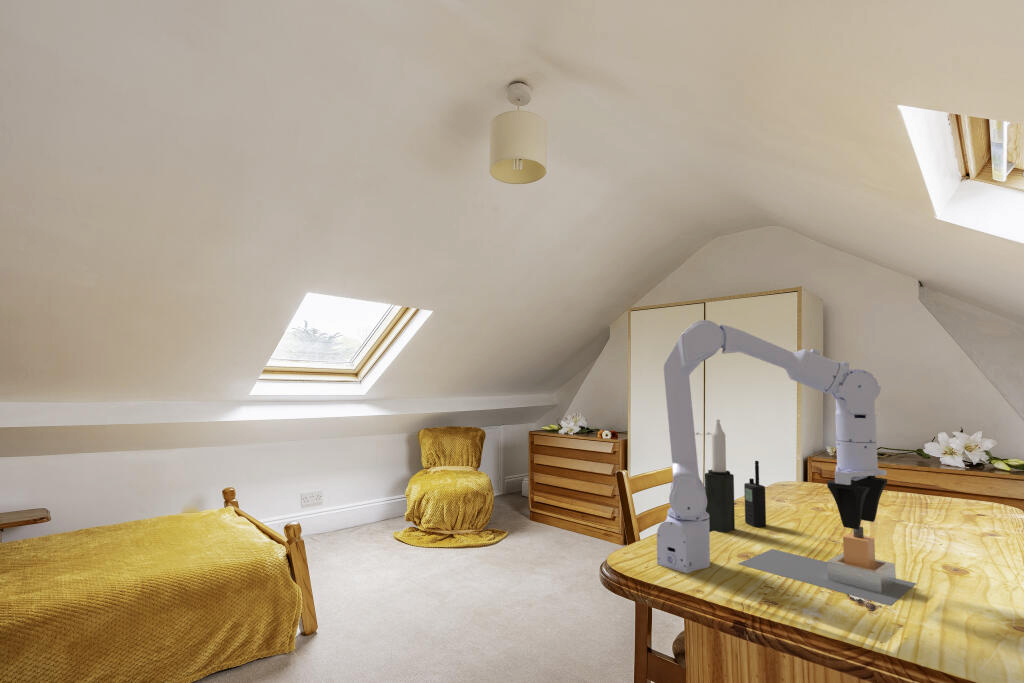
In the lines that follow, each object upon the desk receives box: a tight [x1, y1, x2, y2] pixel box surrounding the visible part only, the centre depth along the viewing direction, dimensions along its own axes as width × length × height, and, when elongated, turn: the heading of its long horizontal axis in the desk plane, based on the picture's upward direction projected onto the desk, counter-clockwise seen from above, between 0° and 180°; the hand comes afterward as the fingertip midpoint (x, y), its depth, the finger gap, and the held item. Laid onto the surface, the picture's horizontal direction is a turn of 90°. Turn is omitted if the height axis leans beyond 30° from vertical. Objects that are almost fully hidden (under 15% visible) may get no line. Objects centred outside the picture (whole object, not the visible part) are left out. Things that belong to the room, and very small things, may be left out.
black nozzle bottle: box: [704, 418, 736, 534], centre depth 119 cm, size 5×5×25 cm
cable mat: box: [737, 548, 917, 607], centre depth 91 cm, size 14×23×1 cm, turn 40°
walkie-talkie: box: [743, 460, 767, 528], centre depth 126 cm, size 5×3×15 cm
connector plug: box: [842, 526, 876, 570], centre depth 88 cm, size 4×4×9 cm
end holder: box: [826, 551, 897, 594], centre depth 87 cm, size 8×8×3 cm
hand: (859, 524), depth 88 cm, fingers open, 7 cm apart
